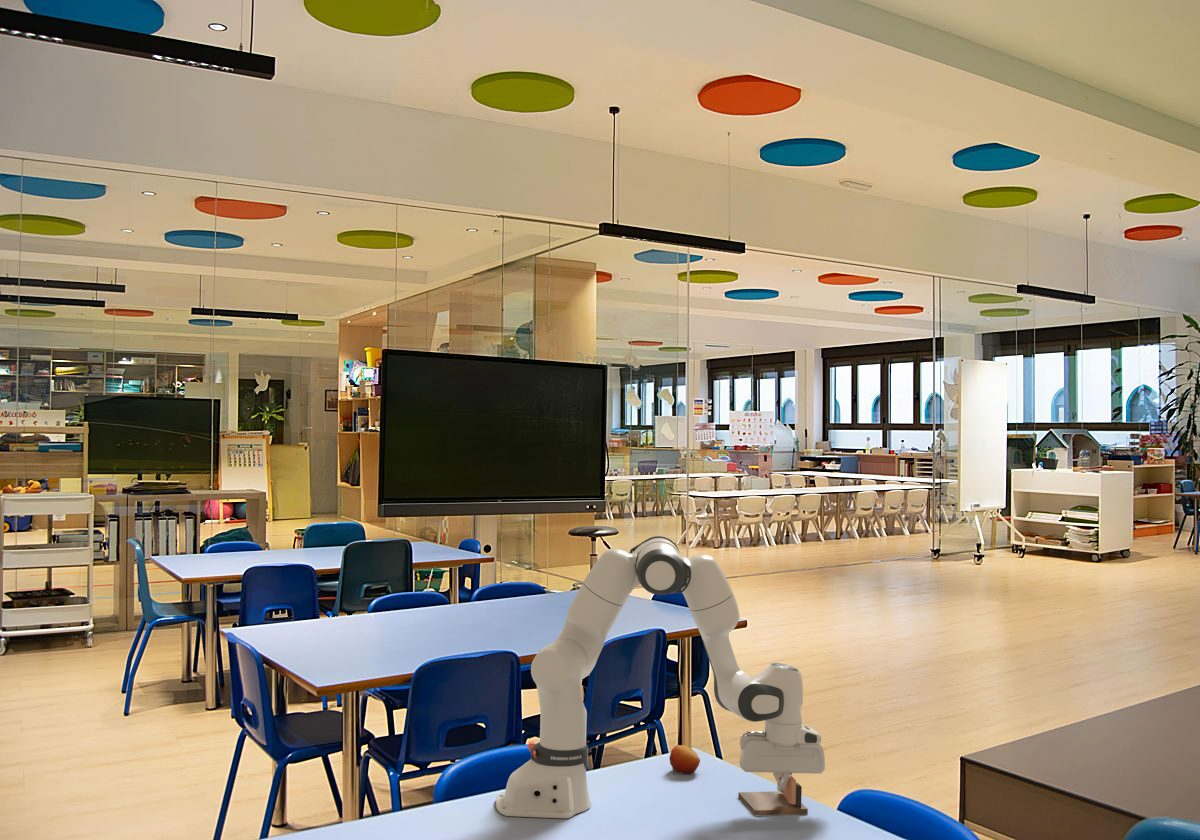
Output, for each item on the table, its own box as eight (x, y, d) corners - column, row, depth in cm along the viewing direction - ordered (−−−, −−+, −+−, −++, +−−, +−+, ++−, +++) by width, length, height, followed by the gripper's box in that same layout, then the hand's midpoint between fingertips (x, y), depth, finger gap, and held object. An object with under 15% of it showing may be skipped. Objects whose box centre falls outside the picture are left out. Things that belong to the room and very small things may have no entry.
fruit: (660, 762, 259) (675, 736, 260) (684, 777, 259) (699, 751, 260) (665, 771, 251) (681, 745, 252) (690, 787, 251) (706, 760, 252)
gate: (796, 804, 227) (797, 780, 228) (790, 804, 227) (790, 780, 228) (783, 789, 238) (784, 766, 238) (777, 789, 238) (778, 766, 238)
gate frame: (755, 815, 225) (755, 780, 225) (738, 797, 237) (739, 764, 237) (807, 814, 227) (808, 779, 227) (788, 795, 239) (789, 763, 240)
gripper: (743, 734, 227) (741, 794, 226) (828, 736, 229) (826, 796, 228) (737, 727, 234) (735, 785, 233) (820, 729, 235) (818, 787, 234)
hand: (781, 790), depth 230 cm, fingers closed
